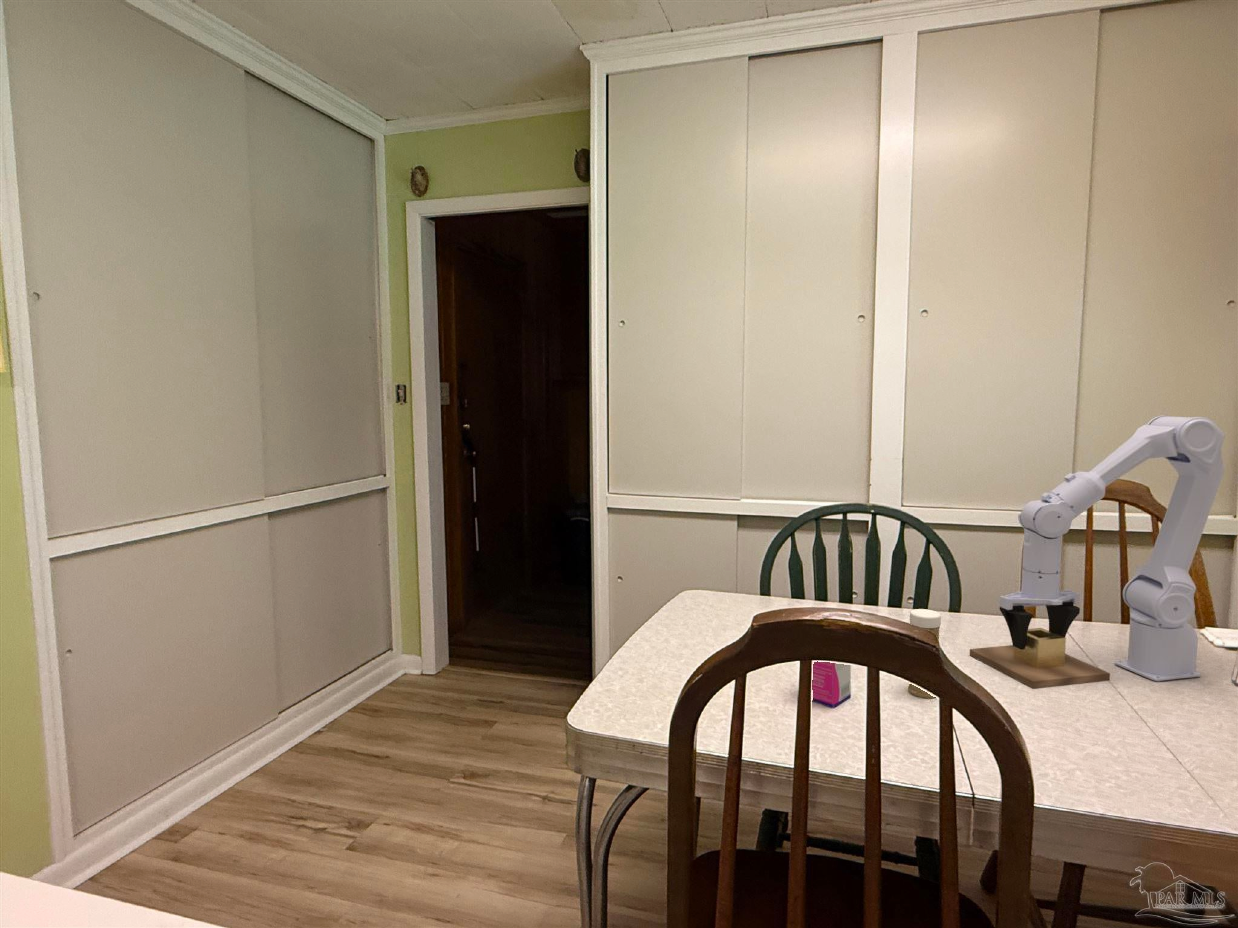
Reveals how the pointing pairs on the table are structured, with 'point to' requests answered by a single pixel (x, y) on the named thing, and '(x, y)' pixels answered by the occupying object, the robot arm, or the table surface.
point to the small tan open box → (1042, 649)
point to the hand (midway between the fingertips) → (1037, 645)
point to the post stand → (1042, 677)
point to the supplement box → (831, 683)
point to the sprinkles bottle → (929, 622)
